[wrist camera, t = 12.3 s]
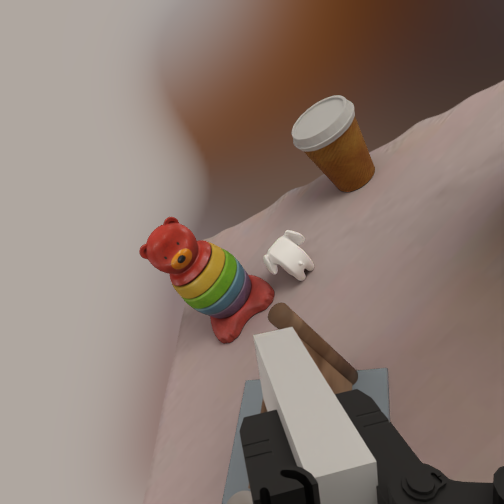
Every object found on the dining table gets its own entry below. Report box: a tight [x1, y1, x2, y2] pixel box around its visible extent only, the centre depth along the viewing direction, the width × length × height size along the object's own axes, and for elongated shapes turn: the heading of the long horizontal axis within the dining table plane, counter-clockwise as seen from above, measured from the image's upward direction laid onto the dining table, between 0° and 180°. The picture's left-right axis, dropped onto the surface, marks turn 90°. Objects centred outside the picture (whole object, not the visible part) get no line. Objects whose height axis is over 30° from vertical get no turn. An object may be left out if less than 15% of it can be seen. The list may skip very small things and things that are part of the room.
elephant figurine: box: [263, 230, 314, 281], centre depth 53 cm, size 7×8×6 cm
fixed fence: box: [227, 303, 358, 504], centre depth 31 cm, size 17×3×15 cm, turn 167°
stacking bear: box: [140, 217, 274, 343], centre depth 53 cm, size 11×10×18 cm
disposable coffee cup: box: [292, 95, 375, 192], centre depth 57 cm, size 10×10×12 cm
